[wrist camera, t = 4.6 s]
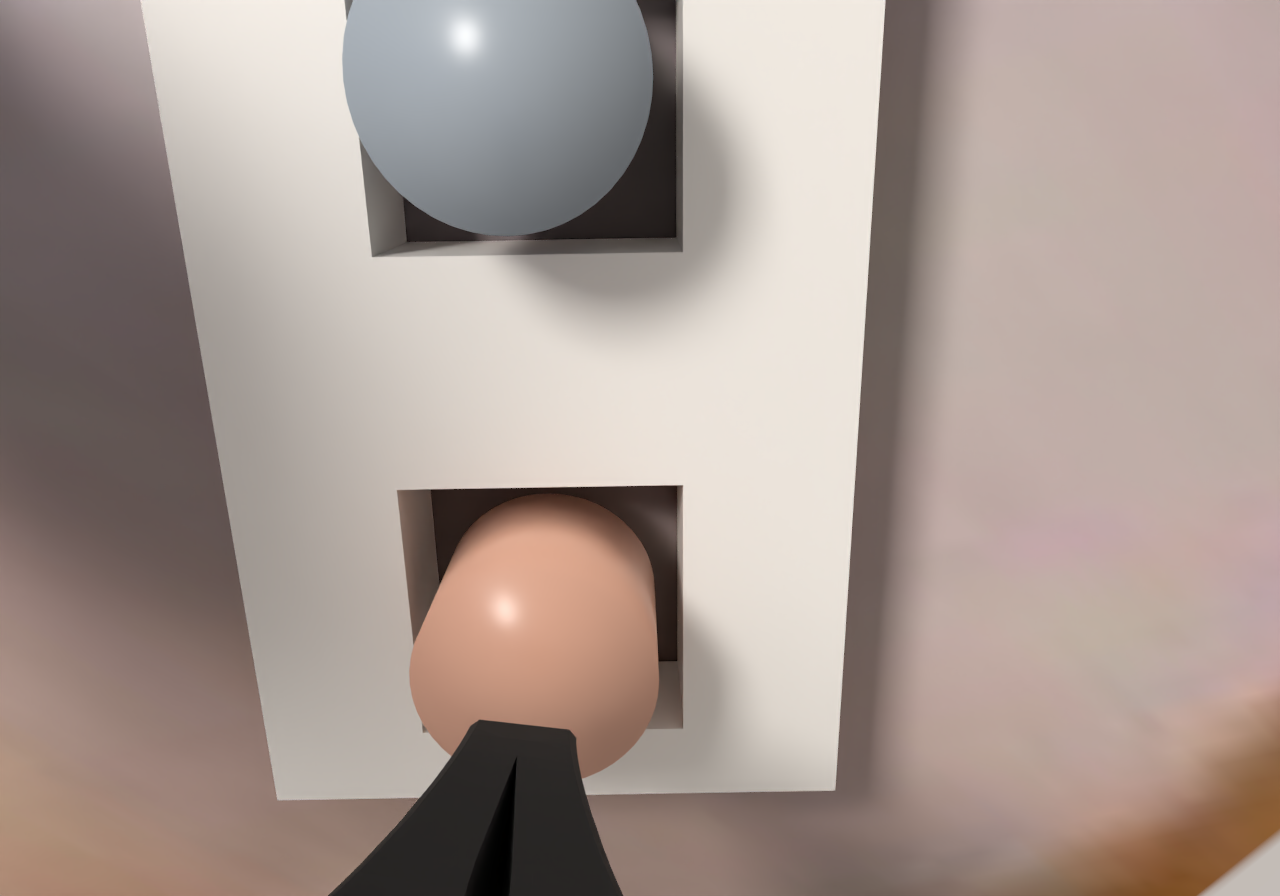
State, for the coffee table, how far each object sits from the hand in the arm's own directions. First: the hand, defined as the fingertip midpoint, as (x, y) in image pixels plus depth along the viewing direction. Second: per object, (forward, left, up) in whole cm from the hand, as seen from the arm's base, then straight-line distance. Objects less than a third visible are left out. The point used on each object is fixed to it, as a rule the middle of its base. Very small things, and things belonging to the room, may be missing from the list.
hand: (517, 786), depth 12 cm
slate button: (0, +9, -6) cm, 11 cm away
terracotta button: (0, 0, -6) cm, 6 cm away
